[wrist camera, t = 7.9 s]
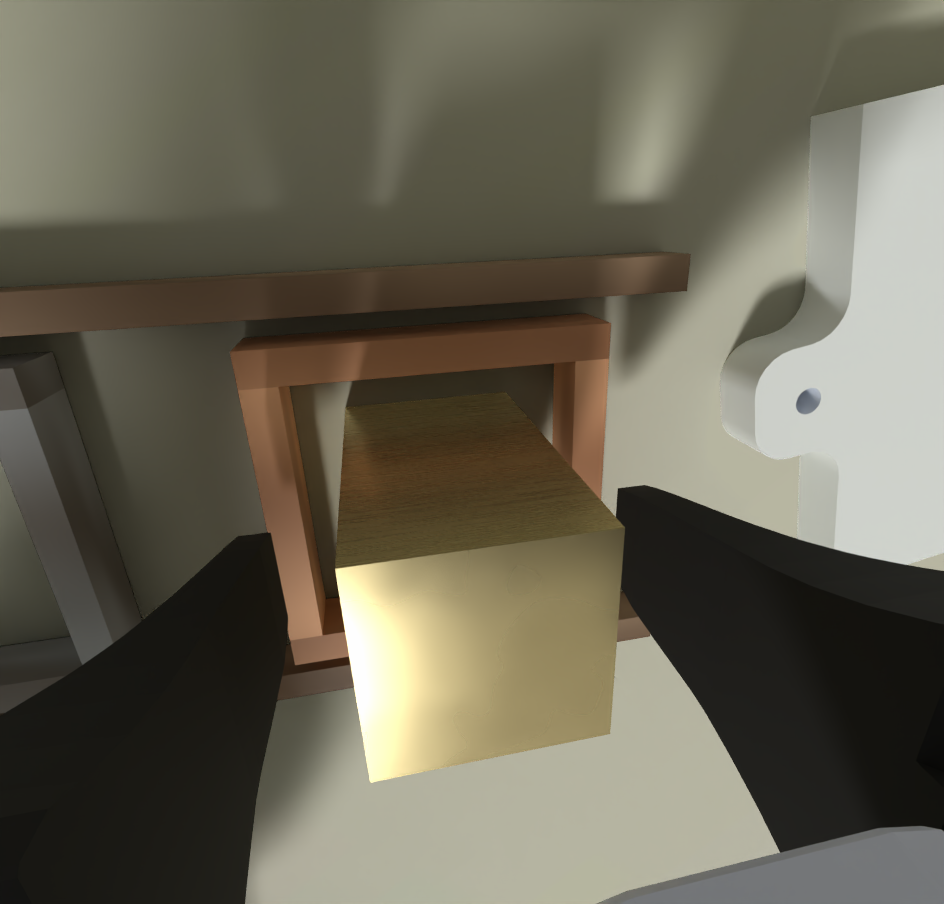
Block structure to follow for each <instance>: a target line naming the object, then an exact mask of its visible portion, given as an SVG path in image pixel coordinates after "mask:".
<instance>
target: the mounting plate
mask: <svg viewBox="0 0 944 904" xmlns="http://www.w3.org/2000/svg"><path fill="white" fill-rule="evenodd" d="M720 404H721V420H722V425H723V427H724V429H725V431H726V432H727V433H728V434H729V435H730V436H732V437H734V438H735V439H737V440H739V441H741V442H742V443H744V444H746V445H748V446H749V447H751V448H753V449H755V450H757V451H758V452H760V453H762V454H764V455H765V456H768V457H770V458H772V459H779V460H782V459H788V458H792V457H795V456H799V455H800V461H799V492H798V523H797V539H799V540H803V541H806V542H810V543H813V544H817V545H821V546H825V547H828V548H832V549H836V550H840V551H843V552H847V553H852V554H856V555H860V556H865V557H869V558H874V559H879V560H884V561H889V562H894V563H899V564H904V565H907V564H910V563H914V562H917V561H920V560H923V559H926V558H929V557H932V556H935V555H939V554H942V553H944V85H941V86H937V87H932V88H928V89H924V90H920V91H915V92H911V93H907V94H903V95H899V96H894V97H890V98H886V99H882V100H878V101H873V102H869V103H865V104H861V105H857V106H853V107H848V108H844V109H840V110H836V111H832V112H828V113H823V114H819V115H815V116H811V126H810V156H809V187H808V217H807V248H806V278H805V292H804V298H803V301H802V303H801V306H800V308H799V310H798V312H797V313H796V315H795V316H794V318H793V319H792V320H791V321H790V322H789V323H788V324H787V325H786V326H784V327H783V328H781V329H780V330H778V331H776V332H773V333H771V334H767V335H764V336H760V337H756V338H753V339H750V340H748V341H746V342H744V343H742V344H741V345H739V346H738V347H737V348H735V350H734V351H733V352H732V353H731V354H730V355H729V356H728V358H727V360H726V362H725V363H724V365H723V368H722V371H721V376H720Z"/></svg>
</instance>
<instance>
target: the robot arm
mask: <svg viewBox="0 0 944 904" xmlns="http://www.w3.org/2000/svg"><path fill="white" fill-rule="evenodd" d="M616 518H617V519H618V520H619V522H620V523H621V524H622V525H623V526H624V527H625V535H624V549H623V562H622V576H621V588H622V590H623V591H624V593H625V595H626V597H627V599H628V601H629V603H630V605H631V606H632V608H633V609H634V611H635V612H636V614H637V615H638V617H639V618H640V620H641V621H642V622H643V624H644V625H645V627H646V628H647V630H648V631H649V632H650V634H651V635H652V637H653V638H654V640H655V641H656V642H657V644H658V645H659V646H660V648H661V649H662V651H663V652H664V653H665V655H666V656H667V658H668V659H669V660H670V662H671V663H672V665H673V666H674V667H675V669H676V670H677V672H678V673H679V674H680V676H681V677H682V678H683V680H684V681H685V683H686V684H687V685H688V687H689V688H690V690H691V691H692V693H693V694H694V696H695V697H696V699H697V700H698V702H699V703H700V705H701V706H702V708H703V709H704V711H705V713H706V714H707V716H708V718H709V720H710V721H711V723H712V725H713V727H714V728H715V730H716V732H717V734H718V735H719V737H720V739H721V741H722V742H723V744H724V746H725V748H726V749H727V751H728V753H729V755H730V756H731V758H732V760H733V762H734V764H735V766H736V768H737V769H738V771H739V773H740V775H741V777H742V779H743V781H744V783H745V784H746V786H747V788H748V790H749V792H750V794H751V796H752V798H753V799H754V801H755V803H756V805H757V807H758V809H759V811H760V813H761V815H762V817H763V819H764V821H765V823H766V825H767V827H768V829H769V831H770V833H771V835H772V837H773V839H774V841H775V843H776V845H777V847H778V849H779V851H780V853H777V854H773V855H769V856H765V857H761V858H757V859H753V860H749V861H745V862H741V863H737V864H733V865H729V866H725V867H721V868H717V869H713V870H709V871H705V872H701V873H697V874H693V875H689V876H685V877H681V878H677V879H673V880H669V881H665V882H661V883H657V884H653V885H649V886H645V887H641V888H637V889H633V890H629V891H626V892H623V893H621V894H619V895H616V896H614V897H611V898H609V899H607V900H604V901H602V902H599V903H597V904H944V571H939V570H933V569H927V568H921V567H915V566H909V565H904V564H899V563H894V562H889V561H884V560H879V559H874V558H869V557H865V556H860V555H856V554H852V553H847V552H843V551H840V550H836V549H832V548H828V547H825V546H821V545H817V544H813V543H810V542H806V541H803V540H799V539H796V538H793V537H789V536H786V535H783V534H780V533H777V532H774V531H771V530H768V529H765V528H762V527H759V526H756V525H754V524H751V523H748V522H745V521H742V520H740V519H737V518H734V517H732V516H729V515H726V514H724V513H721V512H719V511H716V510H713V509H711V508H708V507H706V506H703V505H700V504H698V503H695V502H693V501H690V500H688V499H685V498H682V497H680V496H677V495H674V494H672V493H669V492H666V491H663V490H660V489H657V488H654V487H650V486H646V485H642V486H634V487H626V488H618V495H617V509H616ZM287 629H288V614H287V609H286V604H285V599H284V594H283V590H282V585H281V580H280V575H279V570H278V565H277V560H276V556H275V551H274V546H273V541H272V536H271V532H270V533H262V534H254V535H246V536H238V537H237V538H236V539H234V540H233V541H232V542H231V543H229V544H228V545H227V546H226V547H225V548H224V549H223V550H222V551H221V552H220V553H219V554H217V555H216V556H215V557H214V558H213V559H212V560H211V561H210V562H209V563H208V564H207V565H206V566H205V567H204V568H202V569H201V570H200V571H199V572H198V573H197V574H196V575H195V576H194V577H193V578H192V579H190V580H189V581H188V582H187V583H186V584H185V585H184V586H183V587H182V588H181V589H179V590H178V591H177V592H176V593H175V594H174V595H173V596H171V597H170V598H169V599H168V600H167V601H165V602H164V603H163V604H162V605H161V606H159V607H158V608H157V609H156V610H155V611H153V612H152V613H151V614H150V615H149V616H147V617H146V618H145V619H144V620H142V621H141V622H140V623H139V624H138V625H136V626H135V627H134V628H133V629H131V630H130V631H129V632H128V633H126V634H125V635H124V636H122V637H121V638H120V639H118V640H117V641H116V642H114V643H113V644H112V645H110V646H109V647H107V648H106V649H105V650H103V651H102V652H100V653H99V654H97V655H96V656H95V657H93V658H92V659H90V660H89V661H87V662H86V663H84V664H83V665H82V666H80V667H79V668H77V669H76V670H74V671H73V672H71V673H70V674H68V675H67V676H65V677H63V678H62V679H60V680H58V681H57V682H55V683H53V684H52V685H50V686H48V687H47V688H45V689H44V690H42V691H40V692H39V693H37V694H35V695H34V696H32V697H30V698H29V699H27V700H25V701H24V702H22V703H20V704H19V705H17V706H16V707H14V708H12V709H11V710H9V711H7V712H6V713H4V714H2V715H0V904H245V897H246V887H247V877H248V867H249V857H250V849H251V840H252V831H253V823H254V814H255V805H256V798H257V792H258V787H259V781H260V775H261V770H262V766H263V761H264V757H265V752H266V748H267V743H268V739H269V734H270V729H271V725H272V720H273V716H274V711H275V707H276V702H277V698H278V693H279V688H280V684H281V679H282V674H283V669H284V664H285V654H286V643H287Z"/></svg>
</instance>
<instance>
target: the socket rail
mask: <svg viewBox="0 0 944 904" xmlns="http://www.w3.org/2000/svg"><path fill="white" fill-rule="evenodd" d="M690 255H691V254H684V253H672V252H650V253H632V254H614V255H595V256H577V257H558V258H540V259H522V260H503V261H485V262H466V263H448V264H430V265H411V266H393V267H374V268H356V269H337V270H319V271H301V272H282V273H264V274H245V275H227V276H209V277H190V278H172V279H153V280H135V281H117V282H98V283H80V284H61V285H43V286H24V287H6V288H0V337H6V336H21V335H36V334H51V333H66V332H81V331H96V330H111V329H126V328H141V327H155V326H170V325H185V324H200V323H215V322H230V321H245V320H260V319H275V318H290V317H305V316H320V315H335V314H350V313H365V312H380V311H395V310H410V309H424V308H439V307H454V306H469V305H484V304H499V303H514V302H529V301H544V300H559V299H574V298H589V297H604V296H619V295H634V294H649V293H664V292H678V291H687V284H688V274H689V265H690ZM610 331H611V323H609V322H606V321H604V320H601V319H599V318H596V317H593V316H591V315H588V314H572V315H558V316H544V317H530V318H516V319H502V320H488V321H475V322H461V323H447V324H433V325H419V326H405V327H391V328H377V329H363V330H349V331H335V332H321V333H307V334H293V335H279V336H265V337H251V338H243V339H242V340H241V341H240V342H239V343H238V344H237V345H236V346H235V347H234V348H233V349H232V350H231V351H230V356H231V360H232V365H233V370H234V375H235V380H236V384H237V389H238V394H239V399H240V403H241V408H242V413H243V418H244V423H245V427H246V432H247V437H248V442H249V447H250V451H251V456H252V461H253V466H254V470H255V475H256V480H257V485H258V490H259V494H260V499H261V504H262V509H263V514H264V518H265V523H266V528H267V533H270V532H271V536H272V541H273V546H274V551H275V556H276V560H277V565H278V570H279V575H280V580H281V585H282V590H283V594H284V599H285V604H286V609H287V614H288V633H289V638H290V643H291V644H289V645H286V654H285V664H284V669H283V674H282V679H281V684H280V688H279V693H278V698H277V701H278V700H283V699H289V698H295V697H301V696H307V695H312V694H318V693H324V692H330V691H336V690H341V689H347V688H353V687H354V681H353V675H352V669H351V663H350V657H349V651H348V645H347V639H346V633H345V626H344V620H343V614H342V608H341V602H340V597H337V598H330V599H326V598H325V592H324V586H323V580H322V574H321V568H320V563H319V557H318V551H317V545H316V539H315V533H314V528H313V522H312V516H311V510H310V504H309V498H308V492H307V487H306V481H305V475H304V469H303V463H302V457H301V452H300V446H299V440H298V434H297V428H296V422H295V417H294V411H293V405H292V399H291V393H290V387H289V386H296V385H307V384H319V383H331V382H342V381H354V380H366V379H377V378H389V377H401V376H412V375H424V374H435V373H447V372H459V371H470V370H482V369H494V368H505V367H517V366H529V365H540V364H552V363H554V390H553V444H552V446H553V447H554V448H555V449H556V450H557V451H558V452H559V453H560V455H561V456H562V457H563V458H564V459H565V460H566V461H567V463H568V464H569V465H570V466H571V467H572V468H573V469H574V471H575V472H576V473H577V474H578V475H579V476H580V477H581V478H582V480H583V481H584V482H585V483H586V484H587V485H588V486H589V488H590V489H591V490H592V491H593V492H594V493H595V494H596V495H597V497H598V498H599V499H600V500H601V489H602V471H603V454H604V436H605V419H606V401H607V384H608V366H609V348H610ZM0 461H1V463H2V466H3V468H4V471H5V473H6V476H7V478H8V481H9V483H10V486H11V488H12V491H13V493H14V496H15V498H16V501H17V503H18V506H19V508H20V511H21V513H22V516H23V518H24V521H25V523H26V526H27V528H28V531H29V533H30V536H31V538H32V541H33V543H34V546H35V548H36V551H37V553H38V556H39V558H40V561H41V563H42V566H43V568H44V571H45V573H46V576H47V578H48V581H49V583H50V586H51V588H52V591H53V593H54V596H55V598H56V601H57V603H58V606H59V608H60V611H61V613H62V616H63V618H64V621H65V623H66V626H67V628H68V631H69V633H70V636H71V637H64V638H57V639H50V640H43V641H37V642H30V643H23V644H16V645H9V646H3V647H0V715H2V714H4V713H6V712H7V711H9V710H11V709H12V708H14V707H16V706H17V705H19V704H20V703H22V702H24V701H25V700H27V699H29V698H30V697H32V696H34V695H35V694H37V693H39V692H40V691H42V690H44V689H45V688H47V687H48V686H50V685H52V684H53V683H55V682H57V681H58V680H60V679H62V678H63V677H65V676H67V675H68V674H70V673H71V672H73V671H74V670H76V669H77V668H79V667H80V666H82V665H83V664H84V663H86V662H87V661H89V660H90V659H92V658H93V657H95V656H96V655H97V654H99V653H100V652H102V651H103V650H105V649H106V648H107V647H109V646H110V645H112V644H113V643H114V642H116V641H117V640H118V639H120V638H121V637H122V636H124V635H125V634H126V633H128V632H129V631H130V630H131V629H133V628H134V627H135V626H136V625H138V624H139V623H140V622H141V621H142V619H141V616H140V613H139V610H138V607H137V604H136V601H135V598H134V595H133V592H132V589H131V586H130V583H129V580H128V577H127V574H126V571H125V568H124V565H123V562H122V559H121V556H120V553H119V550H118V547H117V544H116V541H115V538H114V535H113V532H112V529H111V526H110V523H109V520H108V517H107V514H106V511H105V508H104V505H103V502H102V499H101V496H100V493H99V490H98V487H97V484H96V481H95V478H94V475H93V472H92V469H91V466H90V463H89V460H88V457H87V454H86V451H85V448H84V445H83V442H82V439H81V436H80V433H79V430H78V427H77V424H76V421H75V418H74V415H73V412H72V409H71V406H70V403H69V400H68V397H67V394H66V391H65V388H64V385H63V382H62V379H61V376H60V373H59V370H58V367H57V364H56V361H55V358H54V355H53V352H42V353H28V354H14V355H0ZM648 636H650V632H649V631H648V630H647V628H646V627H645V625H644V624H643V622H642V621H641V620H640V618H639V617H638V615H637V614H636V612H635V611H634V609H633V608H632V606H631V605H630V603H629V601H628V599H627V597H626V595H625V593H624V592H620V603H619V617H618V631H617V642H619V641H625V640H631V639H637V638H643V637H648Z"/></svg>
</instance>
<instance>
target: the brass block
mask: <svg viewBox="0 0 944 904" xmlns="http://www.w3.org/2000/svg"><path fill="white" fill-rule="evenodd" d="M624 535H625V527H624V526H623V525H622V524H621V523H620V522H619V520H618V519H617V518H616V517H615V516H614V515H613V514H612V512H611V511H610V510H609V509H608V508H607V507H606V506H605V505H604V503H603V502H602V501H601V500H600V499H599V498H598V497H597V495H596V494H595V493H594V492H593V491H592V490H591V489H590V488H589V486H588V485H587V484H586V483H585V482H584V481H583V480H582V478H581V477H580V476H579V475H578V474H577V473H576V472H575V471H574V469H573V468H572V467H571V466H570V465H569V464H568V463H567V461H566V460H565V459H564V458H563V457H562V456H561V455H560V453H559V452H558V451H557V450H556V449H555V448H554V447H553V446H552V444H551V443H550V442H549V441H548V440H547V439H546V438H545V436H544V435H543V434H542V433H541V432H540V431H539V430H538V429H537V427H536V426H535V425H534V424H533V423H532V422H531V421H530V419H529V418H528V417H527V416H526V415H525V414H524V413H523V412H522V410H521V409H520V408H519V407H518V406H517V405H516V404H515V402H514V401H513V400H512V399H511V398H510V397H509V396H508V395H507V393H506V392H496V393H486V394H476V395H465V396H455V397H445V398H435V399H424V400H414V401H404V402H394V403H384V404H373V405H363V406H353V407H346V410H345V425H344V440H343V455H342V471H341V486H340V501H339V516H338V531H337V546H336V561H335V572H336V578H337V584H338V590H339V596H340V602H341V608H342V614H343V620H344V626H345V633H346V639H347V645H348V651H349V657H350V663H351V669H352V675H353V681H354V687H355V693H356V699H357V705H358V711H359V717H360V723H361V729H362V735H363V741H364V747H365V753H366V760H367V766H368V772H369V778H370V782H375V781H380V780H385V779H390V778H395V777H400V776H405V775H410V774H415V773H420V772H425V771H430V770H434V769H439V768H444V767H449V766H454V765H459V764H464V763H469V762H474V761H479V760H484V759H489V758H494V757H498V756H503V755H508V754H513V753H518V752H523V751H528V750H533V749H538V748H543V747H548V746H553V745H558V744H563V743H567V742H572V741H577V740H582V739H587V738H592V737H597V736H602V735H607V734H610V727H611V713H612V699H613V686H614V672H615V658H616V645H617V631H618V617H619V603H620V590H621V576H622V562H623V549H624Z"/></svg>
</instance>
